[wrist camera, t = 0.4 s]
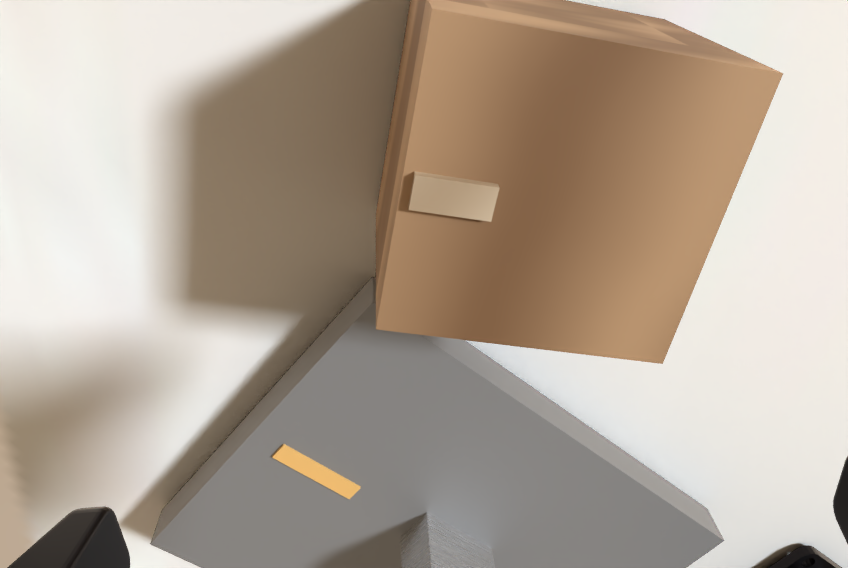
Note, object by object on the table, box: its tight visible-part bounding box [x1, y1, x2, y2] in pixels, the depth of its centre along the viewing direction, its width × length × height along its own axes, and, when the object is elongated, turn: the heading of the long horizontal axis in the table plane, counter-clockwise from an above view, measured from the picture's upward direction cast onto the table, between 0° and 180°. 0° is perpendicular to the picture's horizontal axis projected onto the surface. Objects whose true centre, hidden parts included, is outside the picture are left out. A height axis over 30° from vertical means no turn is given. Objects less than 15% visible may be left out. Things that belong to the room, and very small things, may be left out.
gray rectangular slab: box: [150, 277, 724, 568], centre depth 25 cm, size 16×12×2 cm
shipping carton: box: [376, 0, 783, 364], centre depth 16 cm, size 6×6×6 cm
